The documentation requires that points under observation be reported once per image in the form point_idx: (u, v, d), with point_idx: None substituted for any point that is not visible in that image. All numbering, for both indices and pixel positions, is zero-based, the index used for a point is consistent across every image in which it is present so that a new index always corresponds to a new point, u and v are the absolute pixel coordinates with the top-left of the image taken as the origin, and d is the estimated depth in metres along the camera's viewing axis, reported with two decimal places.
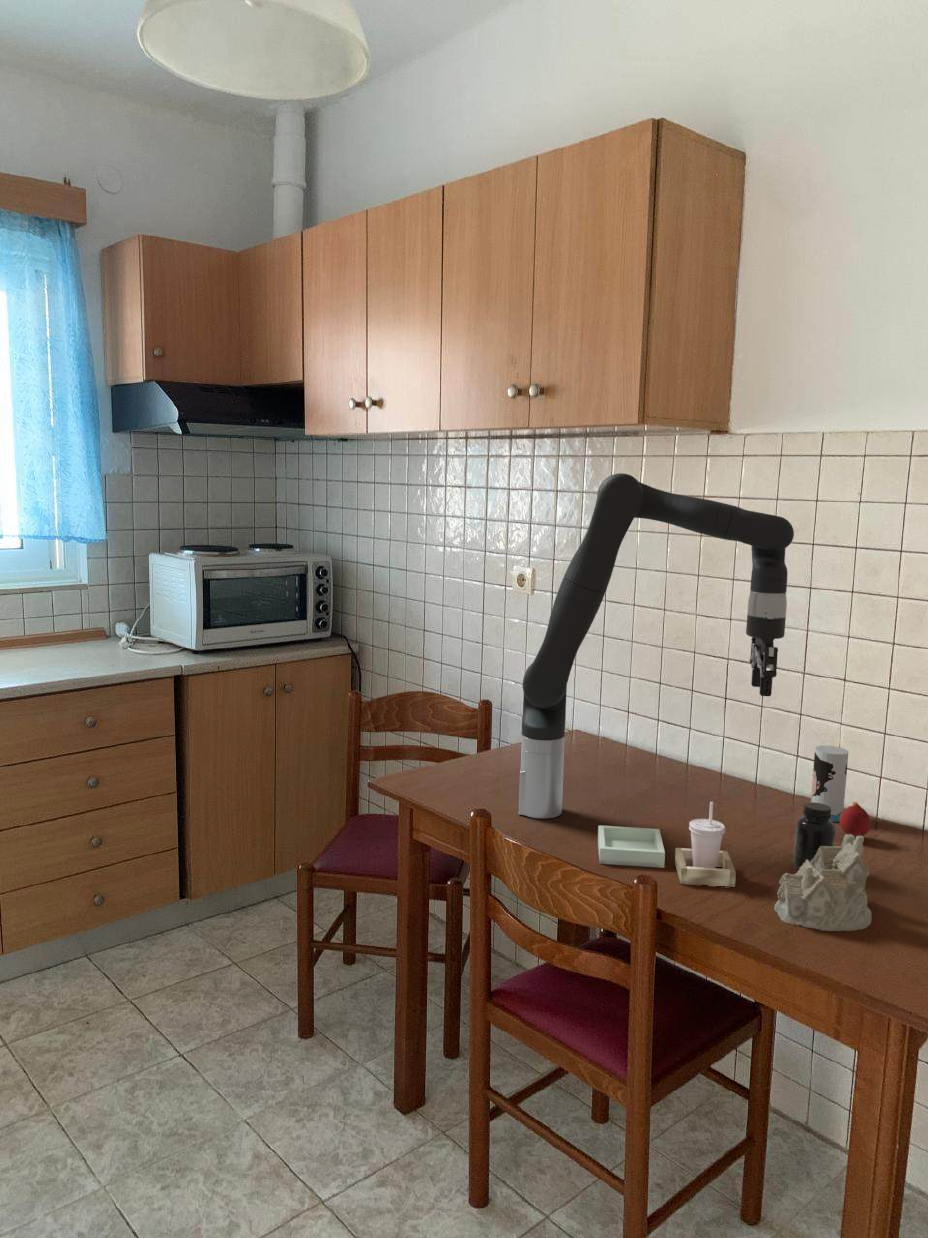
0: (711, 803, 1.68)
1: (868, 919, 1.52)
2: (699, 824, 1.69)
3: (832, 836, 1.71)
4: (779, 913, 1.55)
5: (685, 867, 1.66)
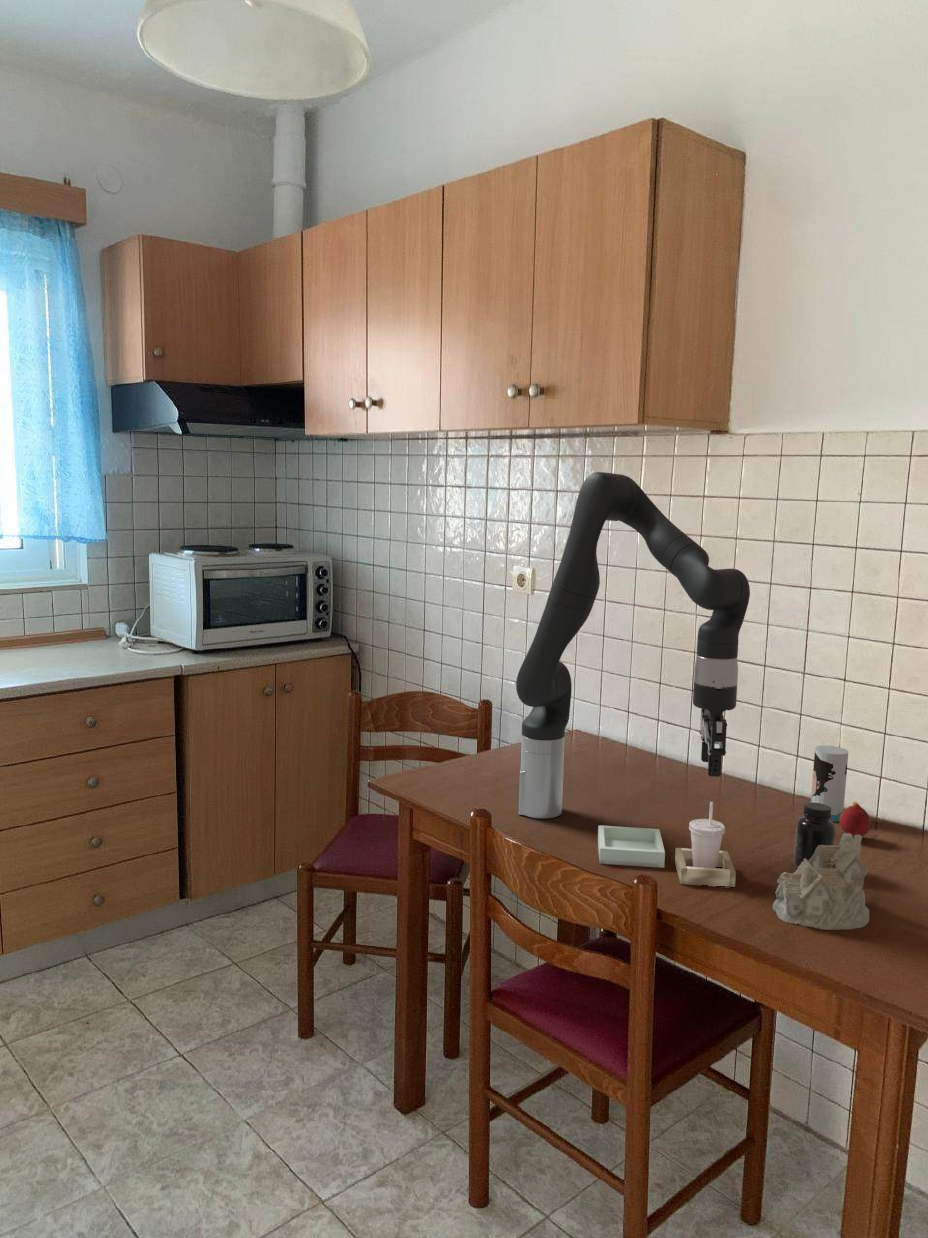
0: (711, 803, 1.68)
1: (866, 918, 1.53)
2: (699, 824, 1.69)
3: (832, 836, 1.71)
4: (777, 912, 1.55)
5: (685, 867, 1.66)
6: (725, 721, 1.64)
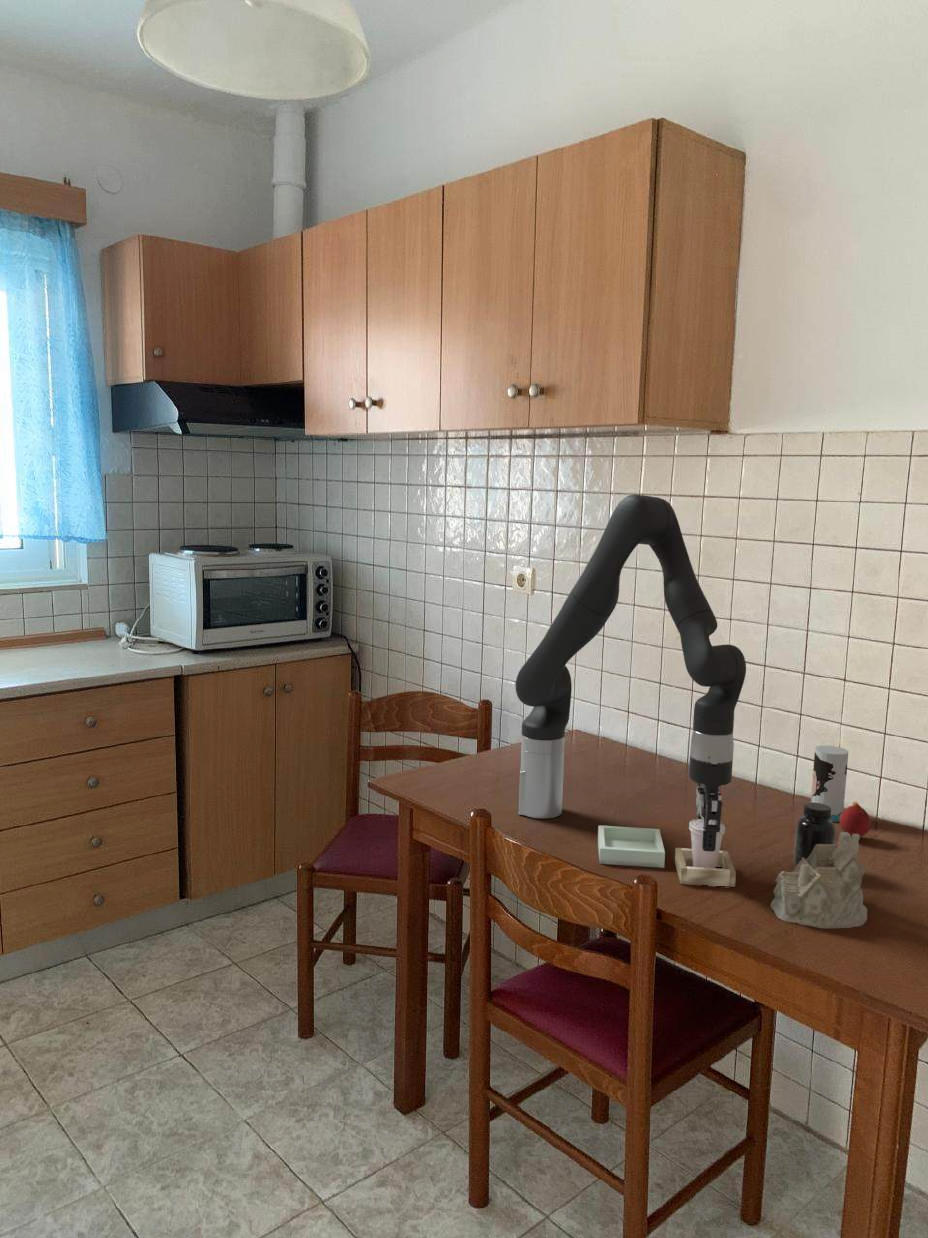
0: None
1: (864, 916, 1.53)
2: (699, 824, 1.69)
3: (832, 836, 1.71)
4: (776, 911, 1.55)
5: (685, 867, 1.66)
6: (720, 796, 1.66)
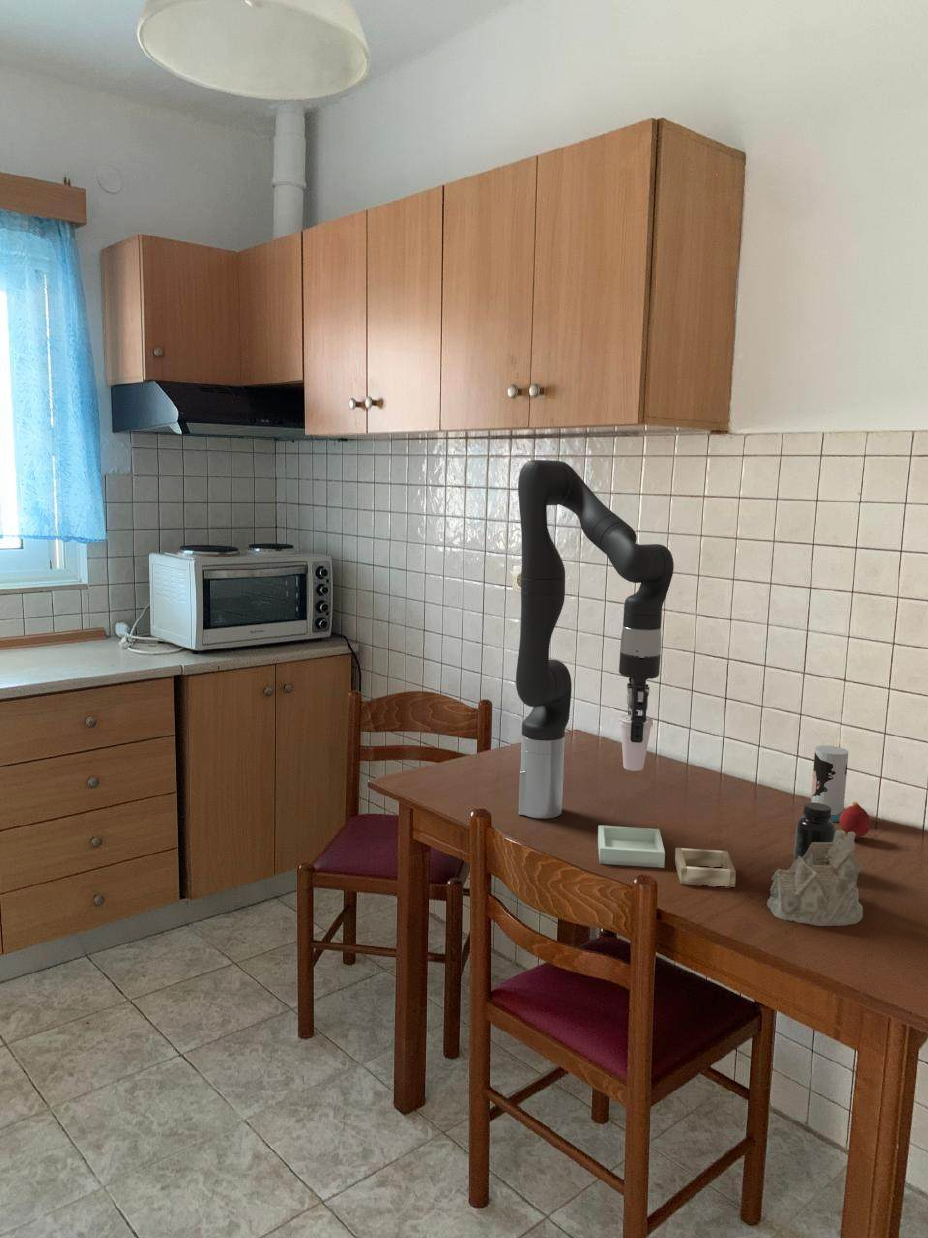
0: None
1: (860, 914, 1.54)
2: (628, 718, 1.76)
3: (832, 836, 1.71)
4: (772, 909, 1.56)
5: (685, 867, 1.66)
6: (648, 689, 1.73)
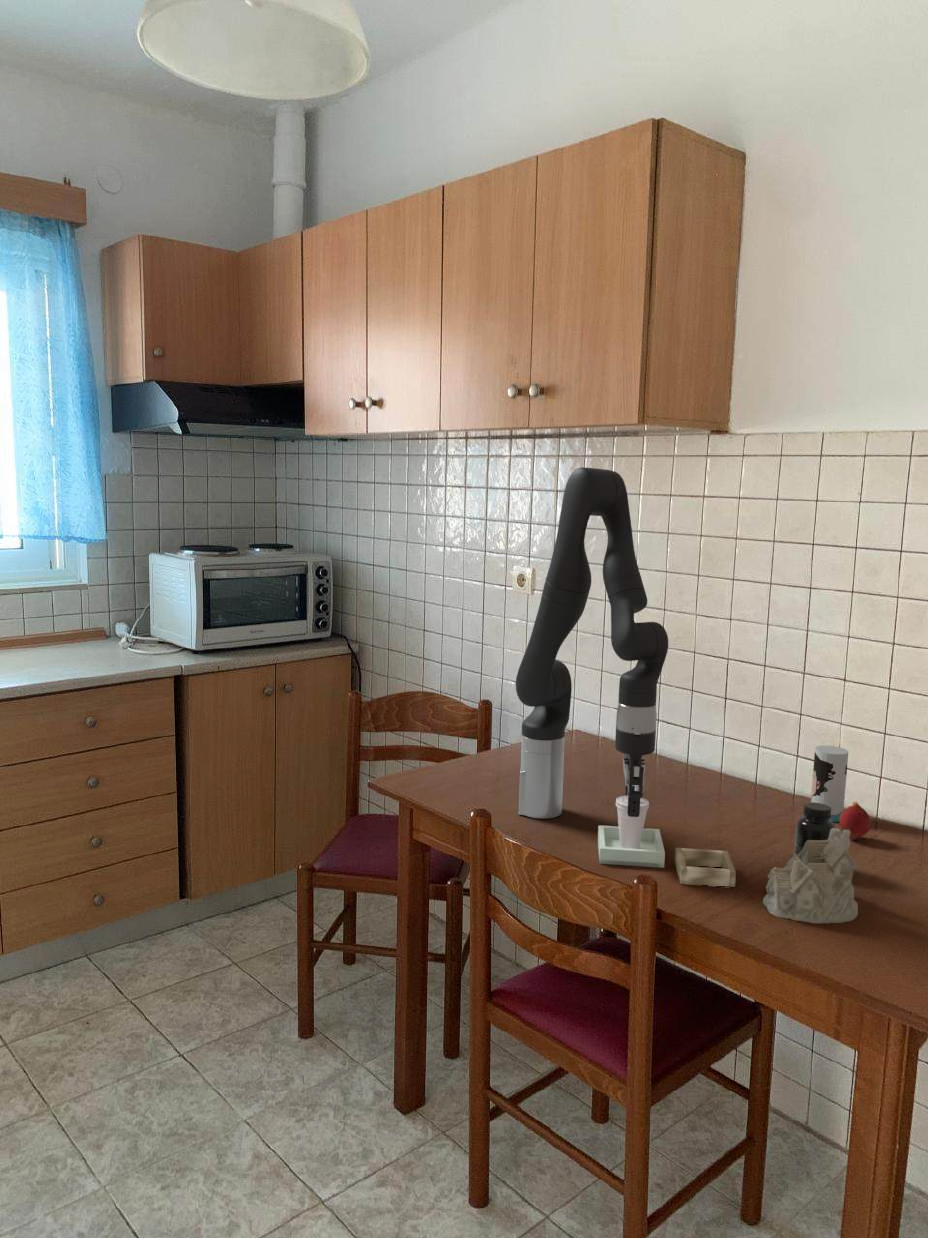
0: None
1: (855, 911, 1.55)
2: (625, 800, 1.78)
3: None
4: (768, 907, 1.57)
5: (685, 867, 1.66)
6: (644, 764, 1.75)
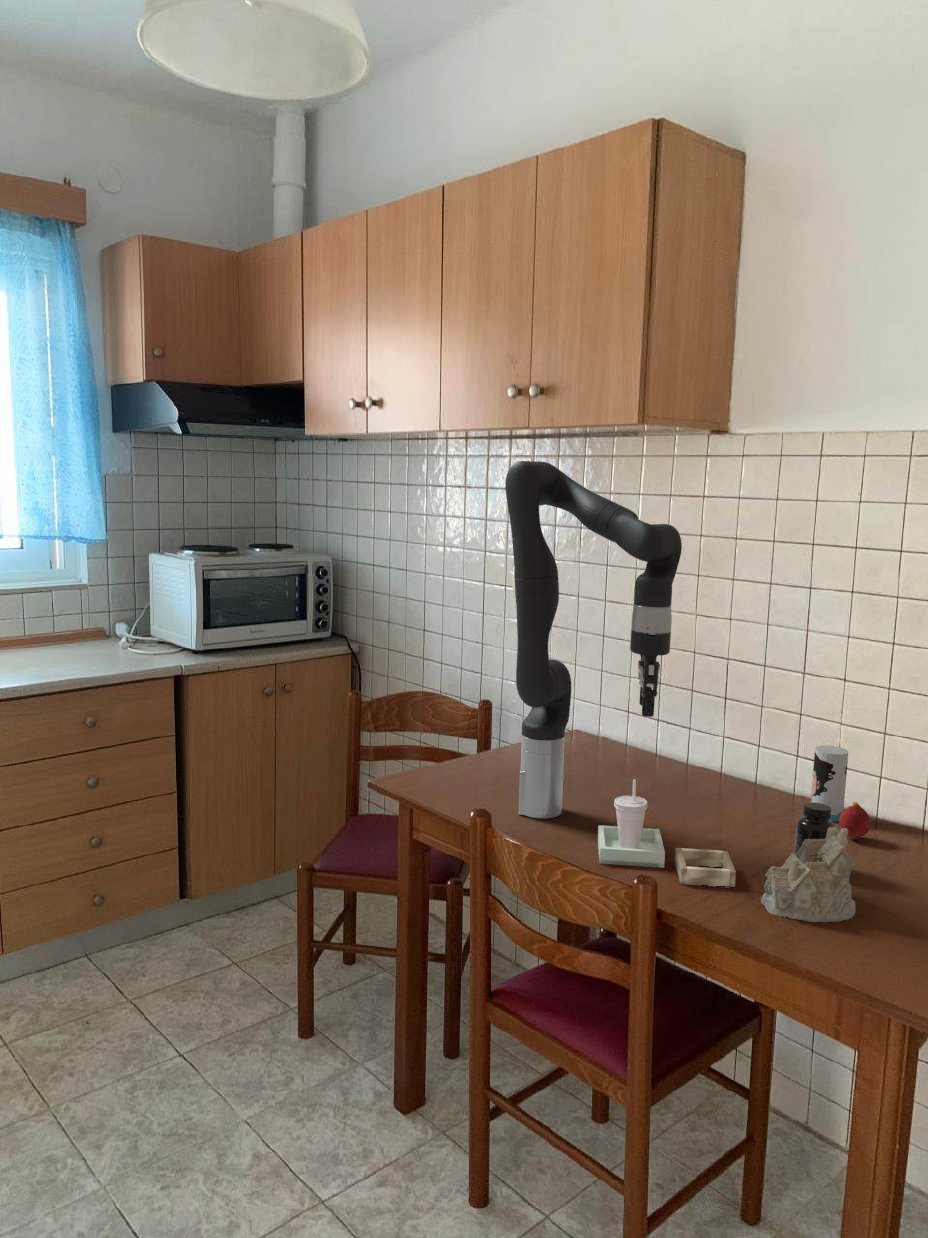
0: (634, 780, 1.77)
1: (852, 910, 1.55)
2: (623, 800, 1.78)
3: None
4: (766, 905, 1.57)
5: (685, 867, 1.66)
6: (659, 666, 1.77)
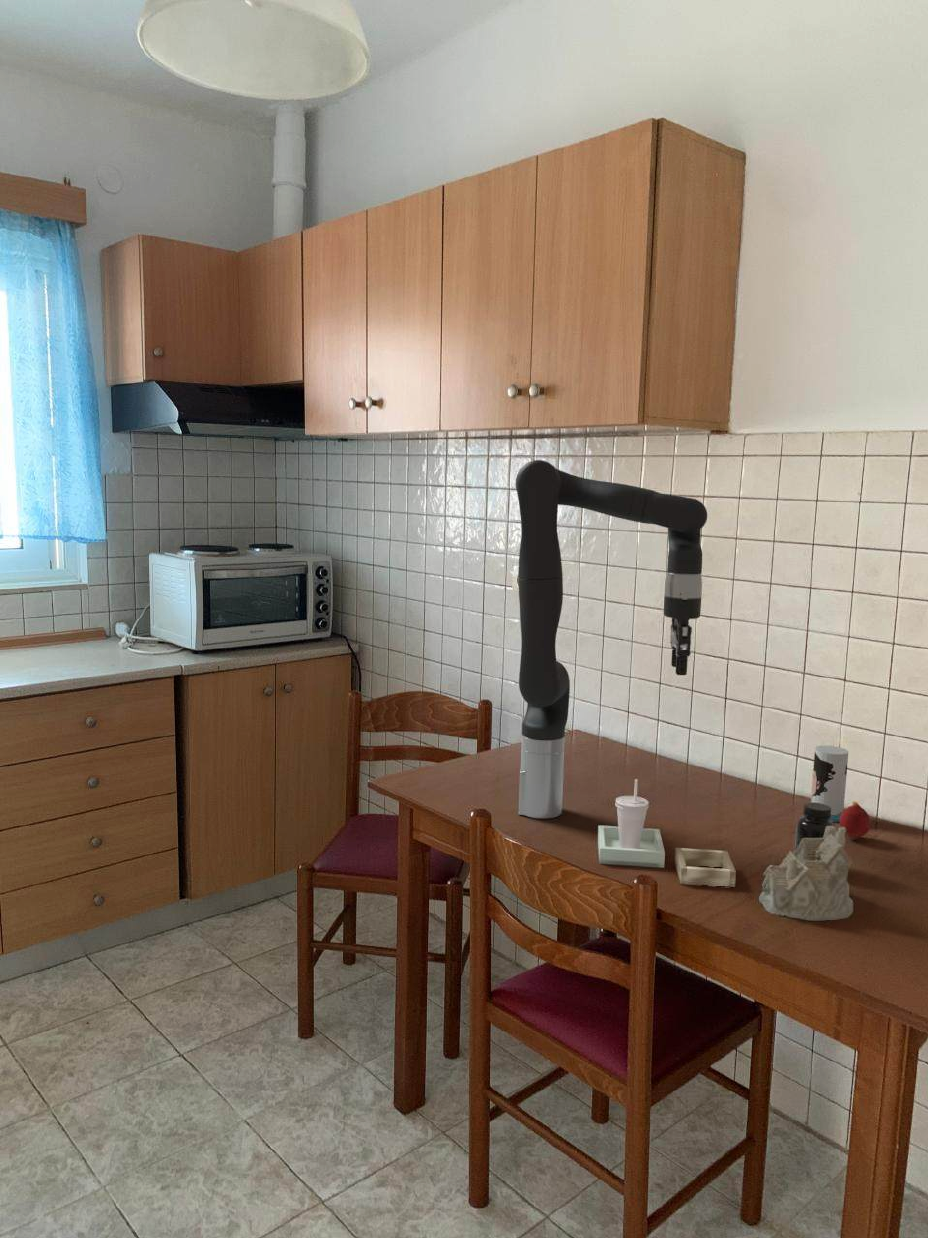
0: (636, 780, 1.77)
1: (850, 908, 1.56)
2: (624, 800, 1.78)
3: None
4: (764, 904, 1.58)
5: (685, 867, 1.66)
6: (691, 628, 1.92)
